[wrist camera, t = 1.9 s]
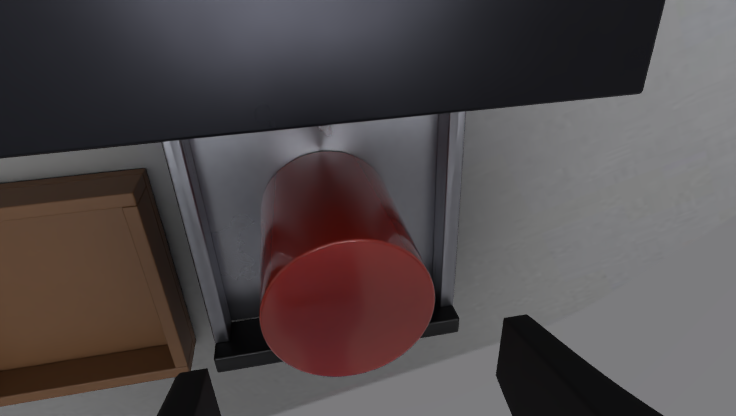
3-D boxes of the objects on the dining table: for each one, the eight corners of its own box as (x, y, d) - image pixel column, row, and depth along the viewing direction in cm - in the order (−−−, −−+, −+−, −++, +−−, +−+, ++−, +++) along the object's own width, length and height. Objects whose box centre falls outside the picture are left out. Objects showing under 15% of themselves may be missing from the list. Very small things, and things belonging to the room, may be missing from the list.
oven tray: (439, 293, 23) (458, 332, 20) (221, 327, 21) (217, 373, 19) (458, -99, 15) (492, -105, 13) (117, -87, 13) (88, -92, 11)
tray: (196, 340, 22) (190, 374, 20) (-13, 373, 20) (-38, 413, 19) (145, 167, 17) (132, 192, 16) (-122, 196, 16) (-167, 227, 14)
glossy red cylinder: (389, 254, 20) (433, 362, 15) (269, 271, 20) (272, 390, 14) (388, 143, 18) (439, 227, 13) (250, 158, 17) (245, 254, 12)
